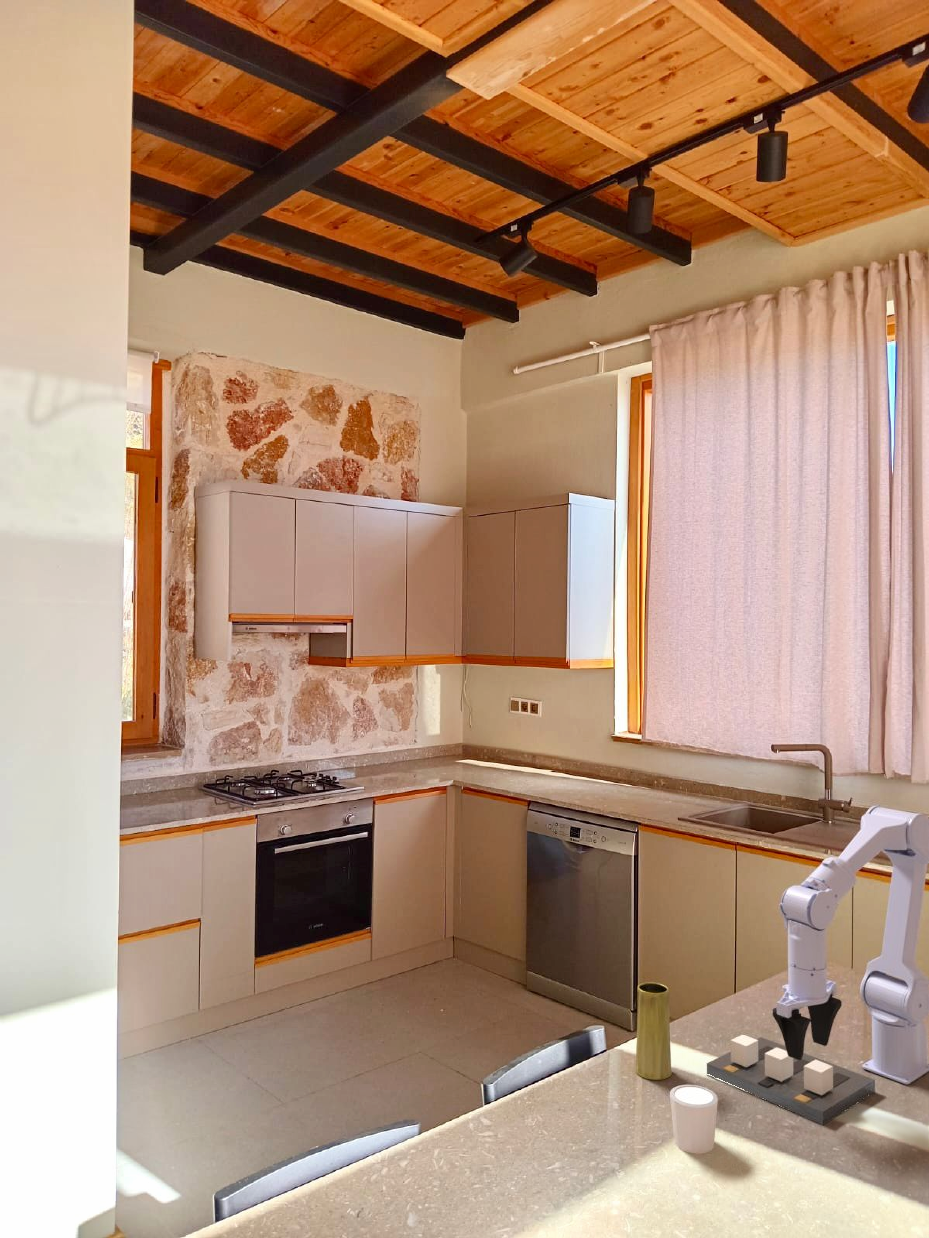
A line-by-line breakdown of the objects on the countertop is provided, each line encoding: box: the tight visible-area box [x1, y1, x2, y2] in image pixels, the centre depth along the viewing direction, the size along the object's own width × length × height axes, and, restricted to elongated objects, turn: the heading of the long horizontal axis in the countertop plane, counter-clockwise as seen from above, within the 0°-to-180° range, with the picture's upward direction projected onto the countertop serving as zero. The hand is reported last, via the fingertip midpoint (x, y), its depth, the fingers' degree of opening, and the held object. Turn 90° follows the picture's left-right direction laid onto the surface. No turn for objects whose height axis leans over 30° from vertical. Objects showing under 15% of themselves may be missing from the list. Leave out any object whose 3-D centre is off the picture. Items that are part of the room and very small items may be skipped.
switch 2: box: [765, 1047, 793, 1082], centre depth 154 cm, size 4×3×4 cm
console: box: [706, 1036, 876, 1126], centre depth 156 cm, size 16×21×2 cm
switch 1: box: [730, 1034, 758, 1067], centre depth 159 cm, size 4×3×4 cm
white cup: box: [669, 1084, 719, 1155], centre depth 138 cm, size 7×7×7 cm
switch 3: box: [804, 1060, 833, 1095], centre depth 150 cm, size 4×3×4 cm
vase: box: [634, 981, 673, 1081], centre depth 160 cm, size 6×6×14 cm
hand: (807, 1050), depth 149 cm, fingers open, 7 cm apart
